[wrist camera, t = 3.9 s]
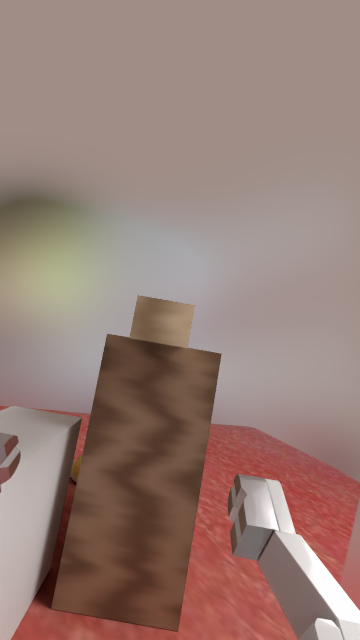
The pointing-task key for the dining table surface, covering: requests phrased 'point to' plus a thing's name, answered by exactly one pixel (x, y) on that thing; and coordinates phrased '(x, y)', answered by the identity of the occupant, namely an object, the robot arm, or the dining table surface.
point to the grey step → (32, 506)
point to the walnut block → (138, 484)
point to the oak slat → (162, 321)
